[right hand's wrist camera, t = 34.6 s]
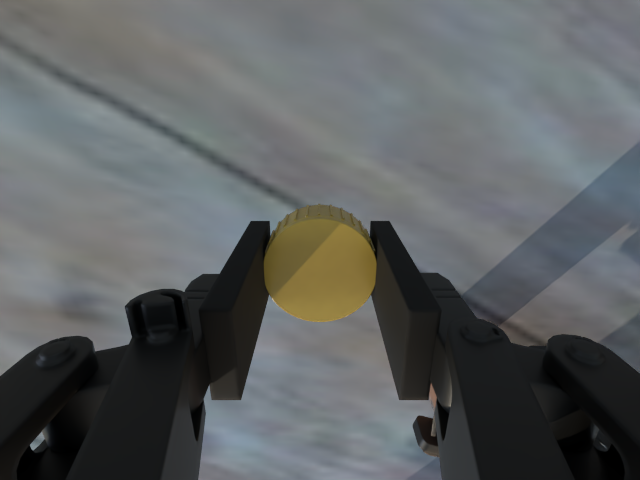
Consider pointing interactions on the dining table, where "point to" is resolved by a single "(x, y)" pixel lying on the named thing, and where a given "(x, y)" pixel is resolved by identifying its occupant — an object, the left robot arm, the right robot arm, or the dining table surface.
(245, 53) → the dining table surface
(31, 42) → the dining table surface
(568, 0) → the dining table surface
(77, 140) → the dining table surface
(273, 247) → the cap
